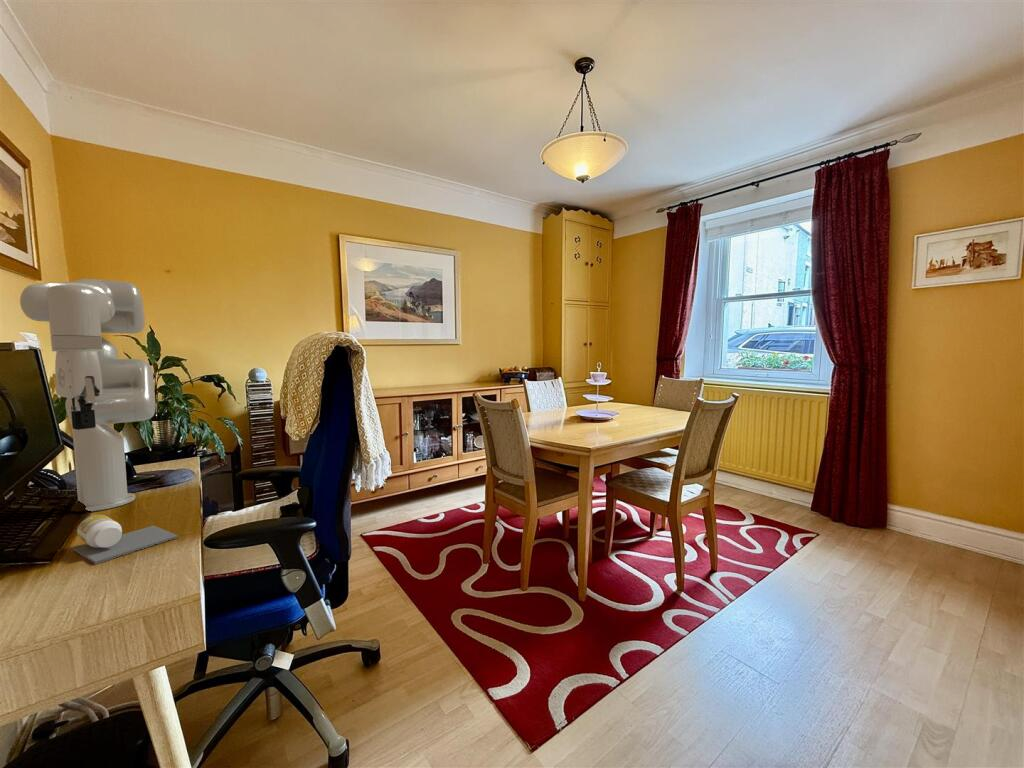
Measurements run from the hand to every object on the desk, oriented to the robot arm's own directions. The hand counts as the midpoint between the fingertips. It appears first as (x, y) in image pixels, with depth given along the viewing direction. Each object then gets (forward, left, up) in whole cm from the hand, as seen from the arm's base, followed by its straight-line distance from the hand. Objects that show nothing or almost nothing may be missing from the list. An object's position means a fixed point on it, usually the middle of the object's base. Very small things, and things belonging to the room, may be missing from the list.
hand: (84, 428), depth 89 cm
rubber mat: (+13, +2, -24) cm, 28 cm away
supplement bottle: (+6, -1, -21) cm, 22 cm away
